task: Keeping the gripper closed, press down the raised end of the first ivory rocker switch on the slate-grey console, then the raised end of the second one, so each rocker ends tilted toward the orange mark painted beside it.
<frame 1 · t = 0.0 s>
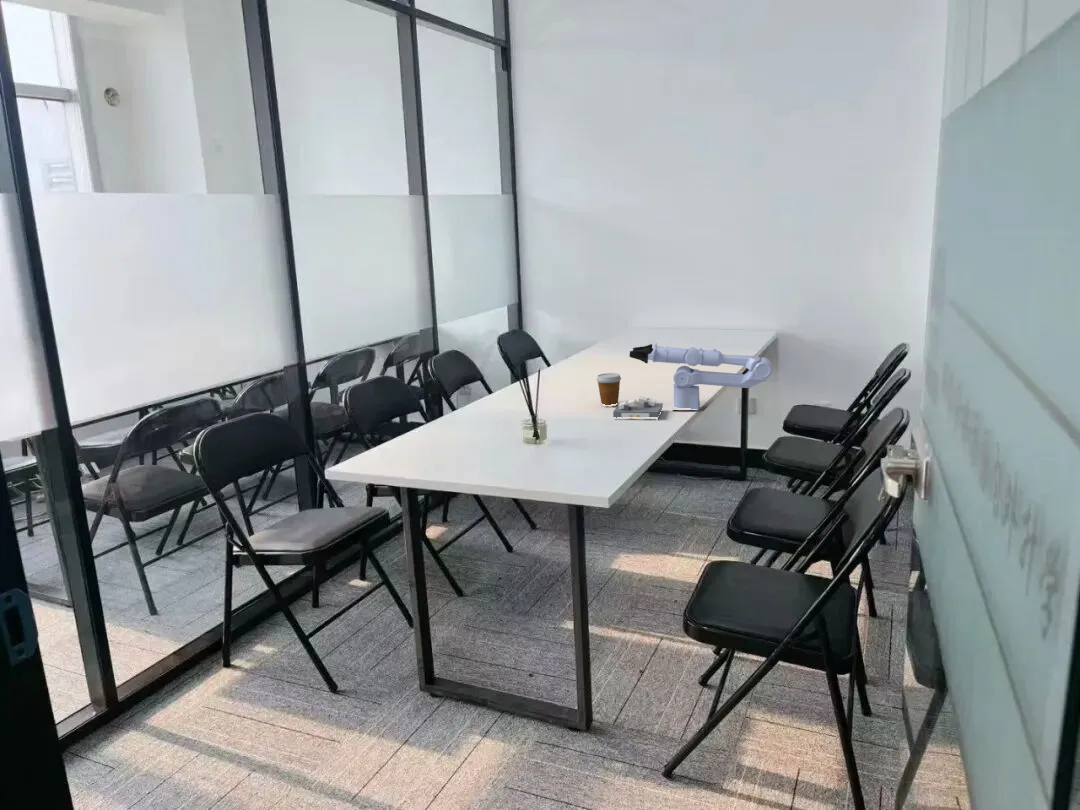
hand: (631, 352, 294), 22 cm above the table, tool horizontal, fingers open, 7 cm apart
rocker b: (627, 404, 286), point 5 cm above the table, hinge at 15.0°
disposable coffee cup: (609, 406, 307), on the table
rocker a: (647, 401, 289), point 5 cm above the table, hinge at -15.0°
console: (638, 415, 289), on the table
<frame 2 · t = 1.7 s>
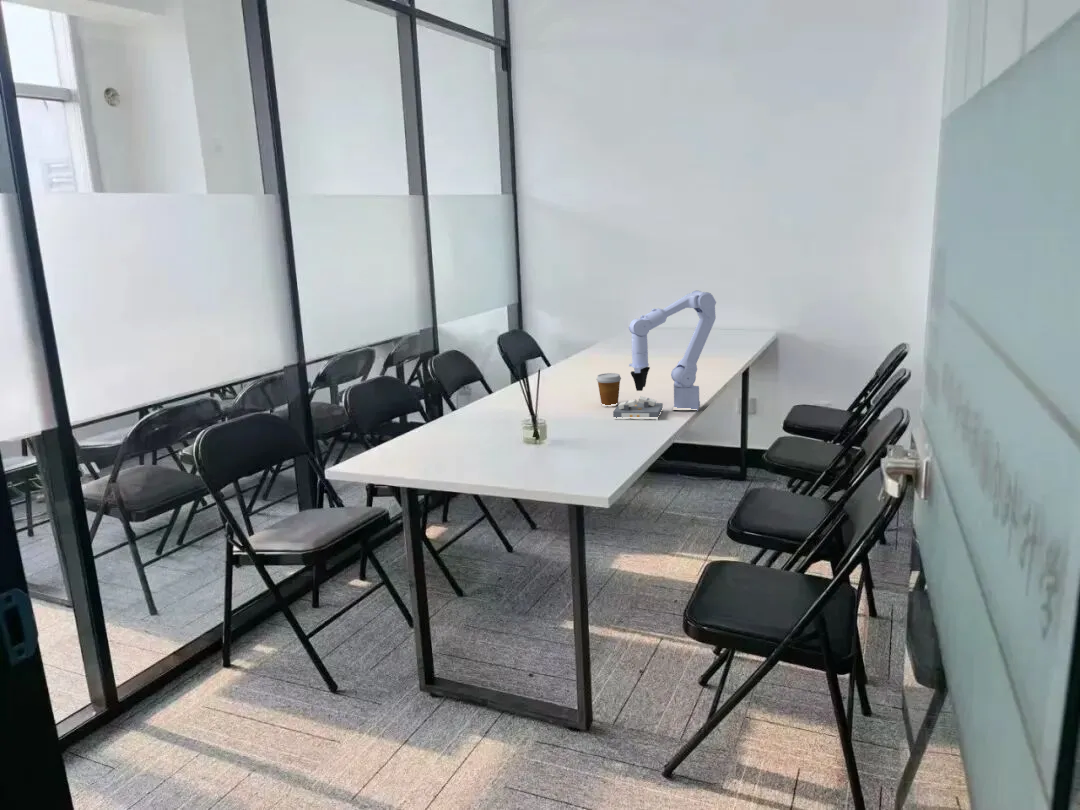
hand: (640, 388, 289), 9 cm above the table, tool pointing down, fingers open, 6 cm apart
nothing on the table moved.
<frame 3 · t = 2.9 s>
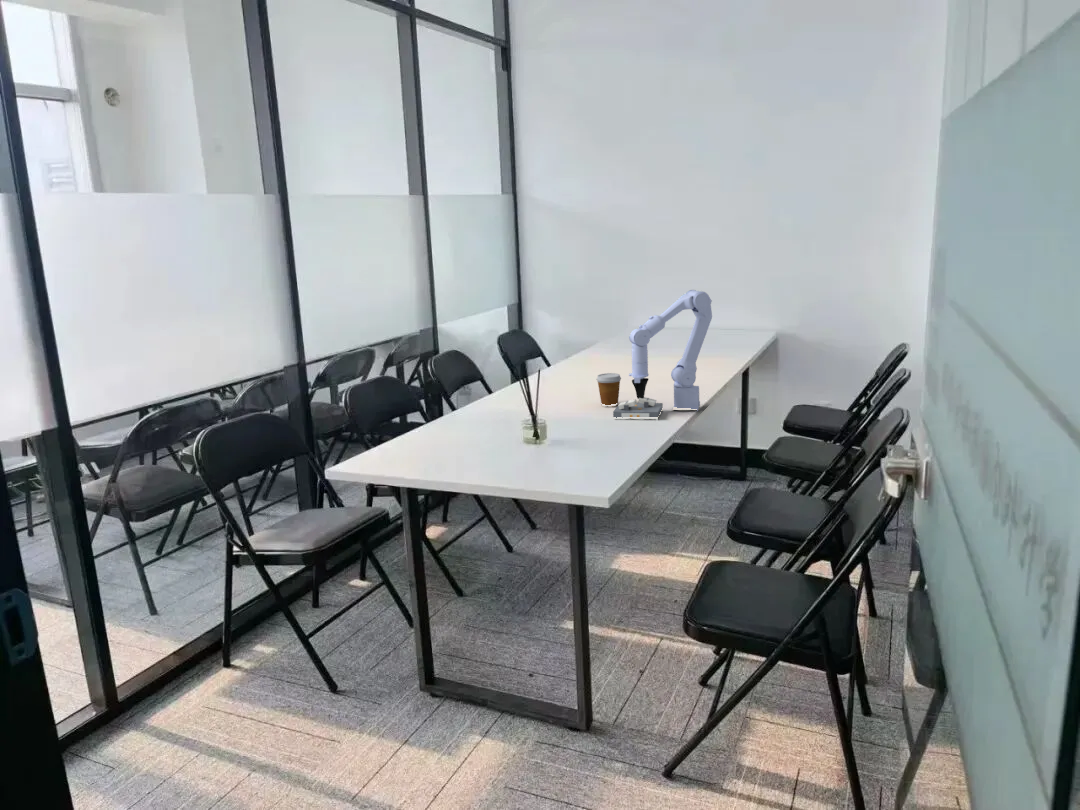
hand: (640, 398, 290), 6 cm above the table, tool pointing down, fingers closed, pressing on rocker a
rocker a: (647, 401, 289), point 5 cm above the table, hinge at -14.6°, touching gripper
everything else where it was.
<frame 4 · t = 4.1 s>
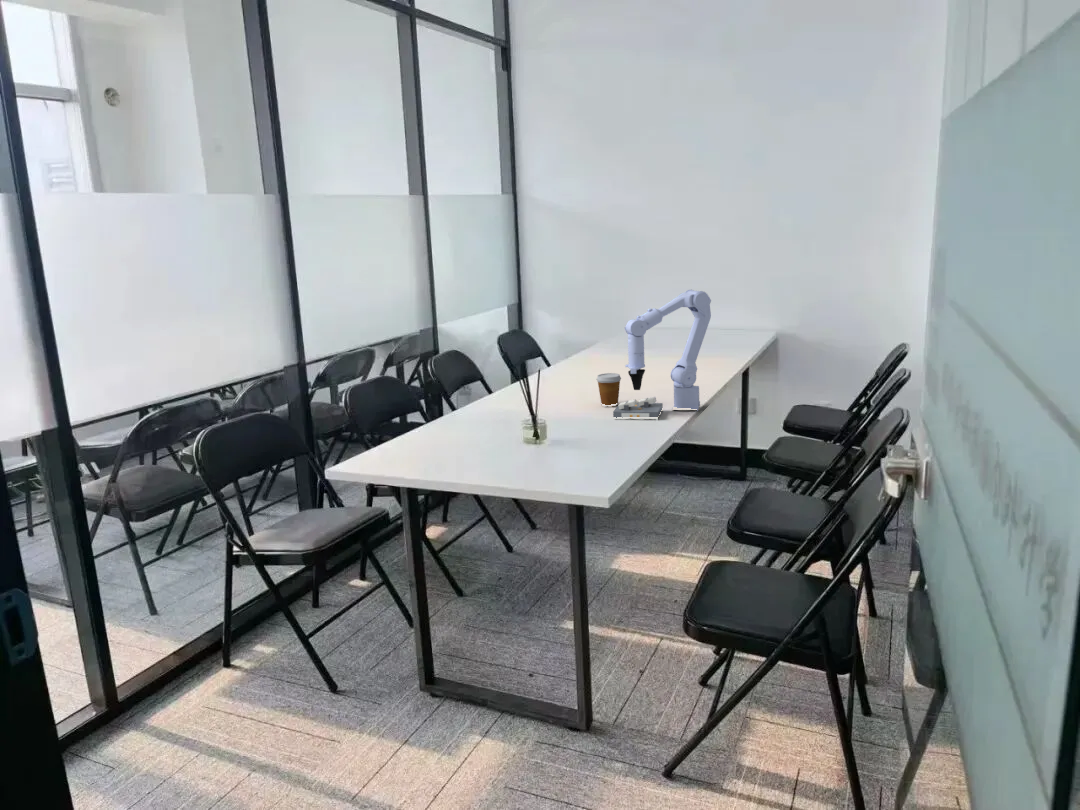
hand: (637, 389, 287), 10 cm above the table, tool pointing down, fingers closed
rocker a: (647, 401, 289), point 5 cm above the table, hinge at 10.7°
everything else where it was.
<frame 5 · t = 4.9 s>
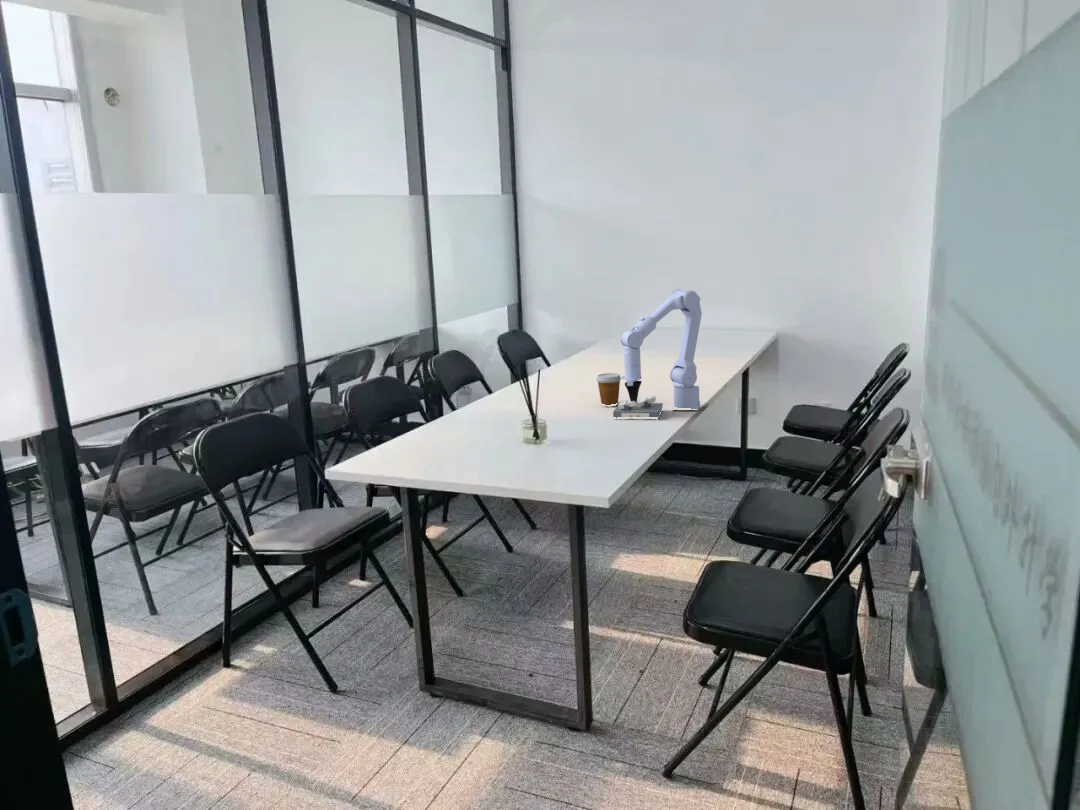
hand: (633, 401, 285), 6 cm above the table, tool pointing down, fingers closed, pressing on rocker b
rocker b: (627, 404, 286), point 5 cm above the table, hinge at 14.7°, touching gripper
rocker a: (647, 401, 289), point 5 cm above the table, hinge at 19.7°, touching console
everything else where it was.
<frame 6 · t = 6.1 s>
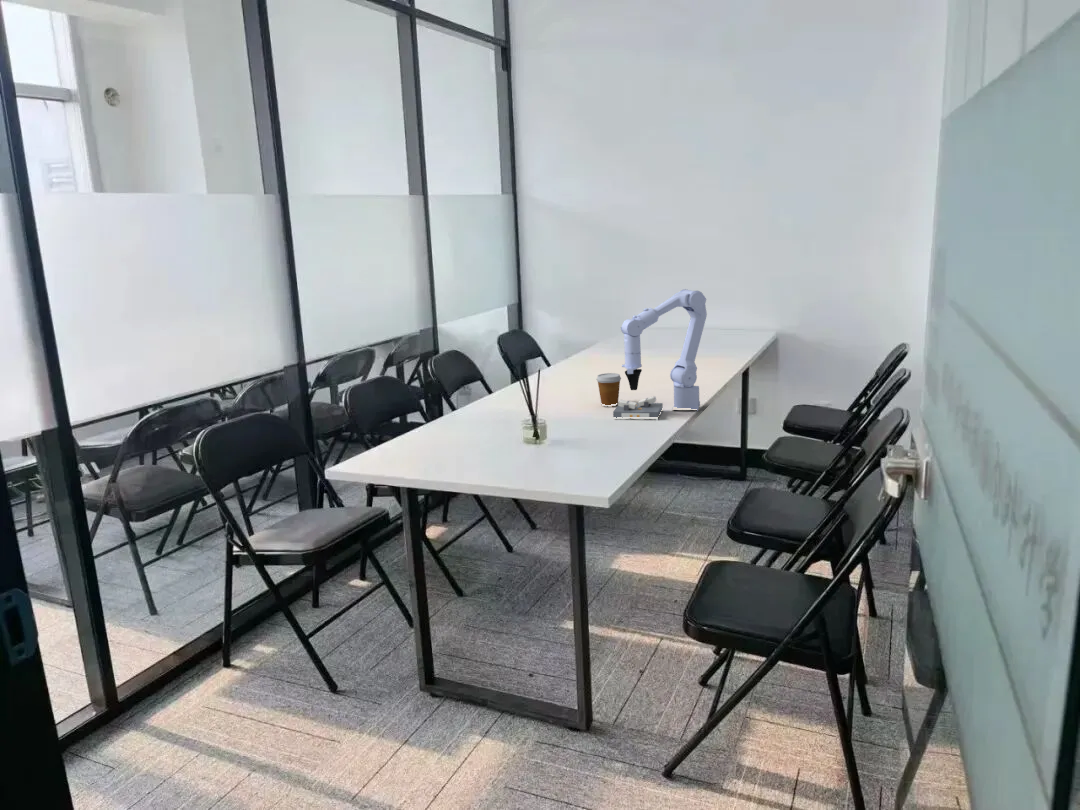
hand: (633, 389, 285), 10 cm above the table, tool pointing down, fingers closed
rocker b: (627, 404, 286), point 5 cm above the table, hinge at -10.8°
rocker a: (647, 401, 289), point 5 cm above the table, hinge at 15.7°
everything else where it was.
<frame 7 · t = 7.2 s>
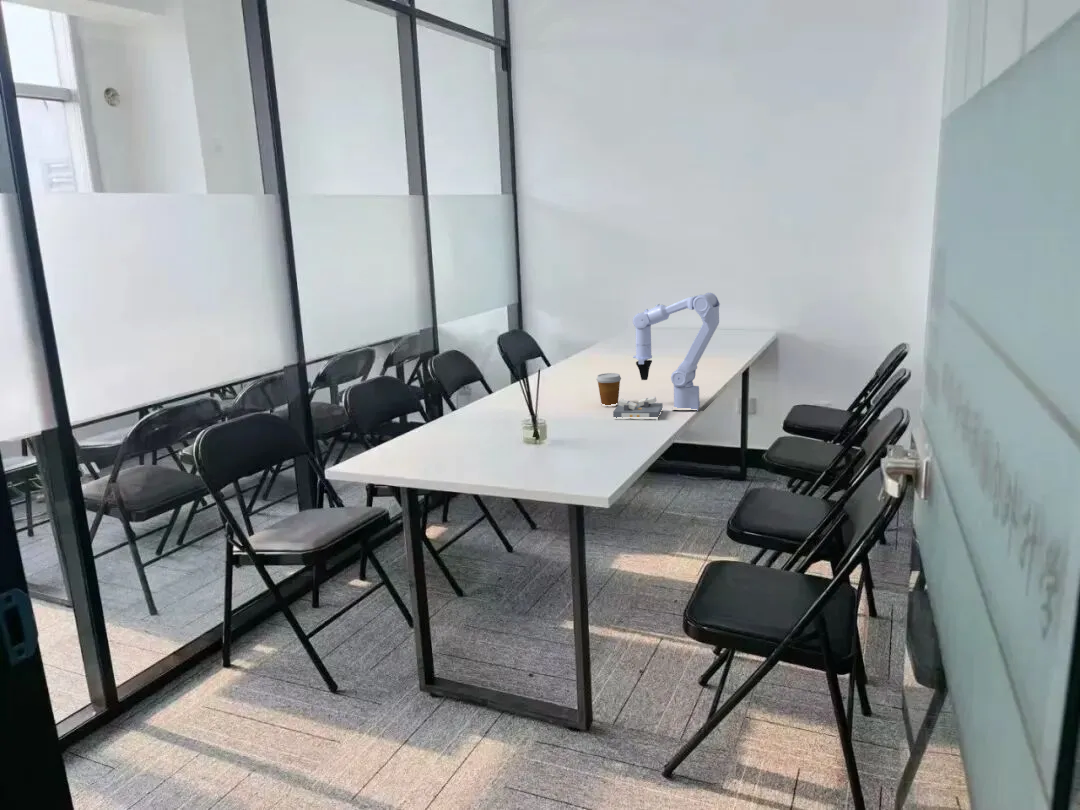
hand: (644, 379, 299), 10 cm above the table, tool pointing down, fingers closed
rocker b: (627, 404, 286), point 5 cm above the table, hinge at -19.0°
rocker a: (647, 401, 289), point 5 cm above the table, hinge at 13.0°
everything else where it was.
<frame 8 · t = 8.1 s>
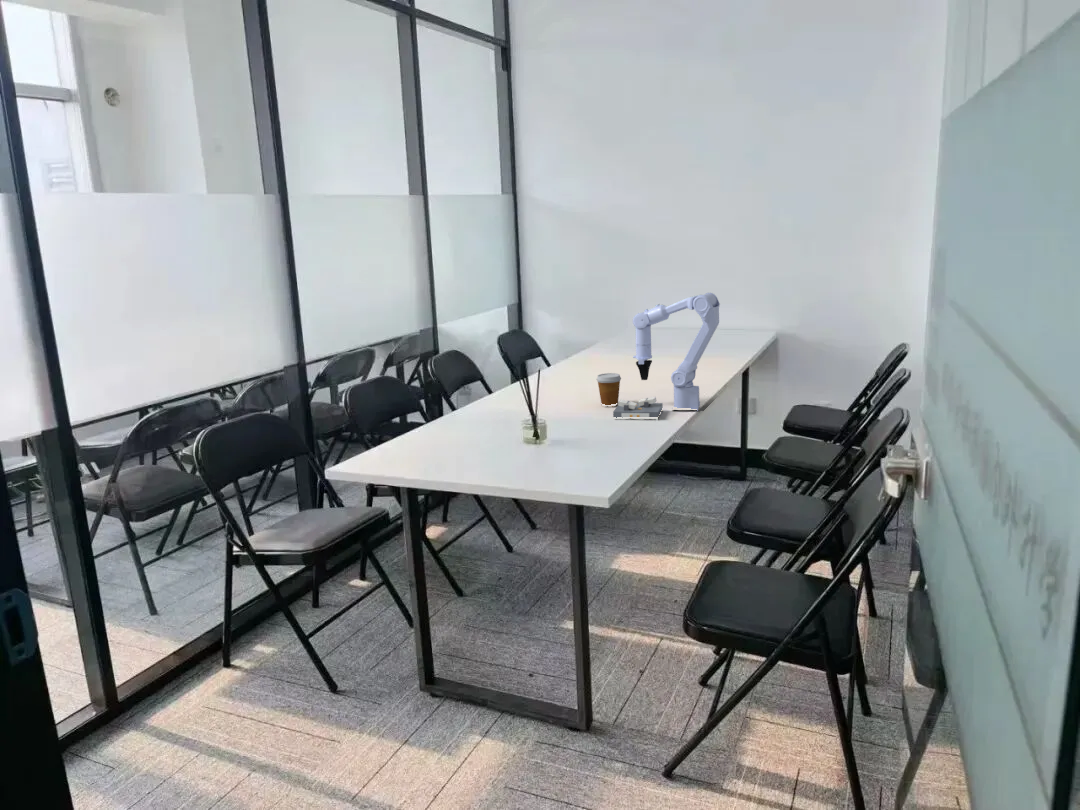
hand: (644, 379, 299), 10 cm above the table, tool pointing down, fingers closed
rocker b: (627, 404, 286), point 5 cm above the table, hinge at -14.9°
rocker a: (647, 401, 289), point 5 cm above the table, hinge at 11.7°
everything else where it was.
at the end: rocker a at +12° (first picture: -15°); rocker b at -14° (first picture: +15°) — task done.
